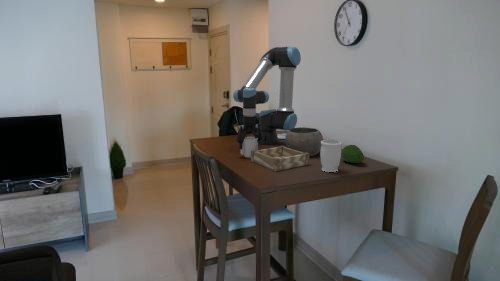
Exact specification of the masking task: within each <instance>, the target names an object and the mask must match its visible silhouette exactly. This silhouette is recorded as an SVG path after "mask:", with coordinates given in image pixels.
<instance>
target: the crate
mask: <svg viewBox="0 0 500 281" xmlns="http://www.w3.org/2000/svg"><path fill="white" fill-rule="evenodd" d="M309 154H310V153H307V152H306V153H303V152H300V151H297V150H293V149H290V148H287V146H286V145H279V146H278V147H277V146H276V147H271V148H263V149H258V150H251V158H250V163H255V164H256V165H260V166H262V167H264V168H267V169H269V170H272V171H274V172H276V171H277V172H280V171H284V170H289V169H293V168H297V167H303V166H309V165H310V157H309Z"/></svg>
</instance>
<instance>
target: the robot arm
mask: <svg viewBox="0 0 500 281" xmlns="http://www.w3.org/2000/svg"><path fill="white" fill-rule="evenodd" d="M301 60H302V58H301V53H300V51H299V49H298V48H297V47H296V46H276V47H272V48H271V49H268V51H266V52H265V53H264V54H263V55H262V56H261V58H260V59H259V61H258V62H259V63H258V64H257V66H256V67H255V69H253V71H252V73H251V74H250V75H249V77H248V78H247V80H246V81H245V82H244V84H243V85H242V87H241V88H240V89H236V90H234V92H233V95H232V97H233V100H234V101H235V102H236V103H242V115H243V116H242V123H243V124H242V125H238V126H237V127H238V130H237V136H236V139H235V140H236V141H235V143H237V144H239V146H238V148H239V150H240V151H239V152H240V155H242V156H244V144H243V141H244V139H245V137H247V134H248V133H249V132H250V133H252V135H253V136H252V137H254V138H256V139H257V138H258V139H257V145H256V150H259V147H260V145H262V146H263V145H265V146H266V145H267V146H268V145H269V146H272V145H277V144H278V143H279V137H278V134H277V130H281V131H286V132H288V131H289V130H290V129H292V128H296V126H297V123H298V116H297V114H296V113H295V109H294V108H293V98H294V97H293V96H294V94H293V93H294V79H295V78H294V77H295V71H296V70H297V66H299V65H300V63H301ZM275 66H278V69H279V71H280V79H279V80H280V82H279V99H278V100H279V103H278V104H279V105H278V108H275V109H264V110H261V111H259V114H258V115H259V116H258V118H259V120H258V122H259V123H256V122H257V116H256V115H257V105H260V104H261V105H262V104H266V103H268V101H269V99H270V95H269V93H268V91H266V90H257V88H258V86H259V85H260V84H261V82H262V81H263V78H264V77H265V76H266V74H268V72H269V71H270V70H272V68H274V67H275Z"/></svg>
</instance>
